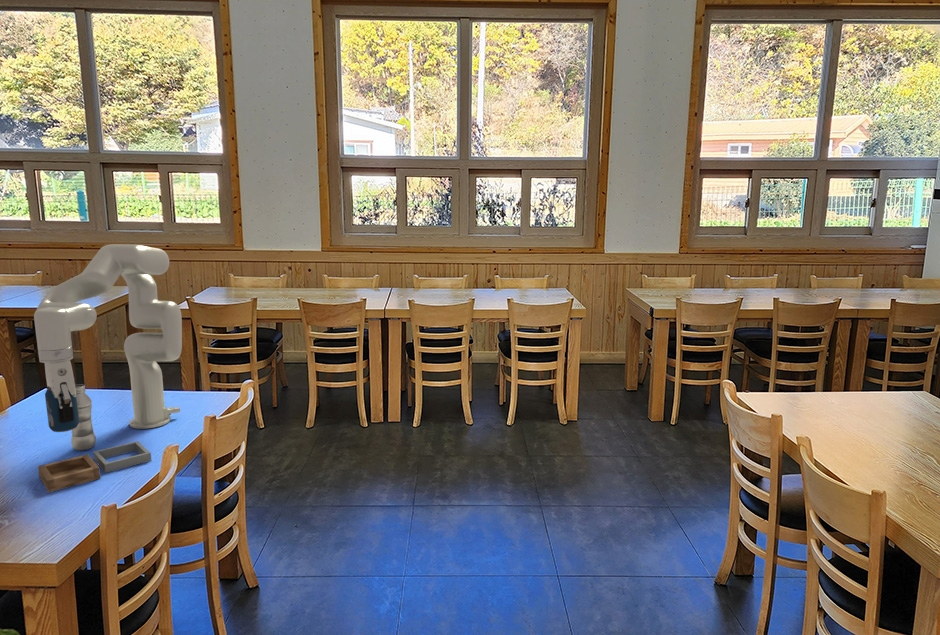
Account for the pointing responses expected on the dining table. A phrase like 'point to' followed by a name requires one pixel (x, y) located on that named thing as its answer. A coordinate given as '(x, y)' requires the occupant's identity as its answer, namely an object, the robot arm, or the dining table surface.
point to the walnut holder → (68, 472)
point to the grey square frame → (125, 462)
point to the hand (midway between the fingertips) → (63, 417)
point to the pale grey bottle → (83, 422)
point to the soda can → (54, 416)
